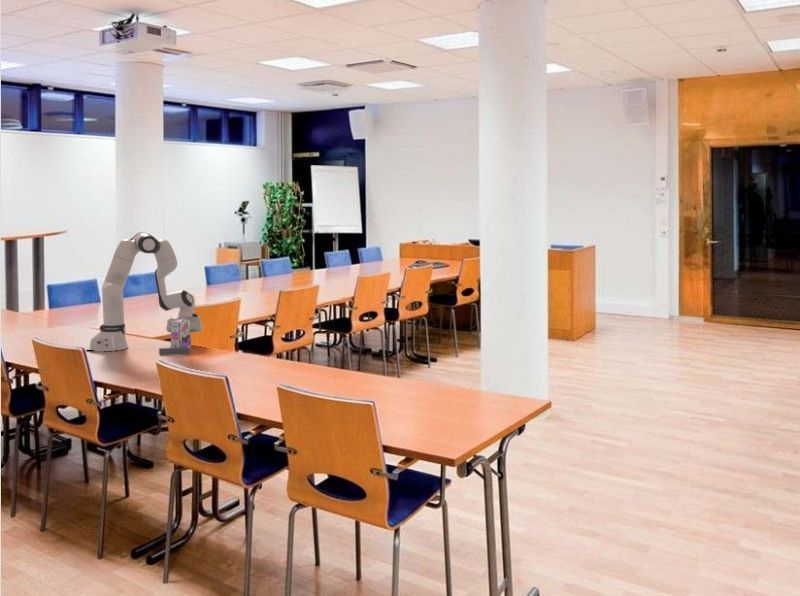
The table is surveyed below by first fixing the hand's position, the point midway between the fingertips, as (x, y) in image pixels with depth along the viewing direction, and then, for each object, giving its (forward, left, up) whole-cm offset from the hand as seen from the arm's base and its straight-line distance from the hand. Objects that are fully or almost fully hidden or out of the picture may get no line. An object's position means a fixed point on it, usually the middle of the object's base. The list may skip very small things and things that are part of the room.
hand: (183, 337), depth 433 cm
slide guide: (0, -17, -5) cm, 18 cm away
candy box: (0, -9, -5) cm, 10 cm away
